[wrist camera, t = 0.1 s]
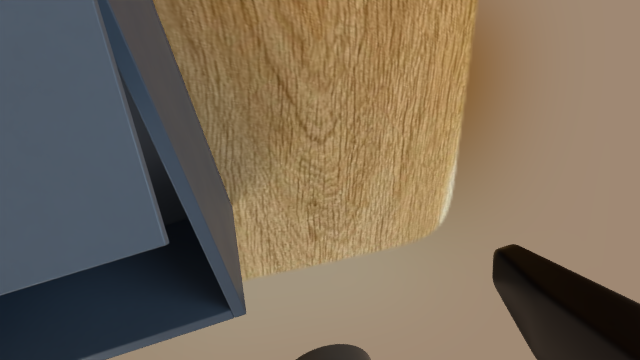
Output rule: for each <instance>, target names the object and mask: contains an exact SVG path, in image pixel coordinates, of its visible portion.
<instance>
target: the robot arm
mask: <svg viewBox="0 0 640 360" xmlns="http://www.w3.org/2000/svg"><path fill="white" fill-rule="evenodd" d="M493 257H494V258H493V282H494V285H495V287H496V289H497V291H498V293H499V294H500V296H501V298H502V300H503V302H504V304H505V305H506V307H507V309H508V311H509V312H510V314H511V316H512V317H513V319H514V321H515V323H516V325H517V327H518V328H519V330H520V332H521V334H522V335H523V337H524V339H525V341H526V342H527V344H528V346H529V347H530V349H531V351H532V352H533V354H534V356H535V357H536V359H537V360H640V304H639V303H637V302H635V301H633V300H631V299H629V298H627V297H625V296H623V295H621V294H618V293H616V292H614V291H612V290H610V289H608V288H606V287H604V286H602V285H600V284H598V283H595V282H593V281H591V280H589V279H587V278H585V277H583V276H581V275H579V274H577V273H574V272H572V271H571V270H568V269H566V268H564V267H562V266H560V265H558V264H556V263H554V262H552V261H550V260H548V259H546V258H543V257H541V256H539V255H537V254H535V253H533V252H531V251H529V250H527V249H525V248H522V247H520V246H518V245H514V244H512V245H508V246H505V247H502V248H499V249H497V250H495V252H494V256H493Z"/></svg>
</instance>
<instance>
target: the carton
mask: <svg viewBox="0 0 640 360" xmlns="http://www.w3.org/2000/svg"><path fill="white" fill-rule="evenodd" d="M97 2H98V5H99V8H100V12H101V15H102V18H103V22H104V25H105V28H106V32H107V35H108V38H109V42H110V45H111V49H112V52H113V55H114V59H115V62H116V65H117V69H118V72H119V75H120V79H121V82H122V85H123V89H124V92H125V95H126V99H127V102H128V106H129V109H130V112H131V116H132V119H133V122H134V126H135V129H136V132H137V136H138V139H139V142H140V146H141V149H142V152H143V156H144V159H145V163H146V166H147V169H148V173H149V176H150V179H151V183H152V186H153V189H154V193H155V196H156V199H157V203H158V206H159V209H160V213H161V216H162V220H163V223H164V226H165V230H166V233H167V236H168V240H169V244H167V245H165V246H162V247H159V248H155V249H152V250H149V251H145V252H142V253H139V254H135V255H132V256H129V257H126V258H122V259H119V260H116V261H112V262H109V263H106V264H103V265H99V266H96V267H93V268H89V269H86V270H83V271H79V272H76V273H73V274H70V275H66V276H63V277H60V278H56V279H53V280H50V281H47V282H43V283H40V284H37V285H33V286H30V287H27V288H23V289H20V290H17V291H14V292H10V293H7V294H4V295H0V360H106V359H109V358H112V357H115V356H118V355H121V354H124V353H127V352H130V351H134V350H137V349H139V348H143V347H146V346H149V345H152V344H155V343H158V342H161V341H165V340H168V339H171V338H174V337H177V336H180V335H183V334H186V333H189V332H192V331H196V330H198V329H202V328H205V327H208V326H211V325H214V324H217V323H220V322H223V321H226V320H229V319H233V318H234V317H239V316H242V315H244V314H246V308H245V300H244V293H243V285H242V277H241V270H240V262H239V255H238V247H237V240H236V232H235V225H234V217H233V209H232V205H231V203H230V200H229V198H228V195H227V192H226V190H225V187H224V185H223V182H222V179H221V177H220V174H219V172H218V169H217V166H216V164H215V161H214V159H213V156H212V154H211V151H210V148H209V146H208V143H207V141H206V138H205V135H204V133H203V130H202V128H201V125H200V122H199V120H198V117H197V115H196V112H195V109H194V107H193V104H192V102H191V99H190V97H189V94H188V91H187V89H186V86H185V84H184V81H183V78H182V76H181V73H180V71H179V68H178V65H177V63H176V60H175V58H174V55H173V52H172V50H171V47H170V45H169V42H168V40H167V37H166V34H165V32H164V29H163V27H162V24H161V21H160V19H159V16H158V14H157V11H156V8H155V6H154V3H153V1H152V0H97Z"/></svg>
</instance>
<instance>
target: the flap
mask: <svg viewBox="0 0 640 360" xmlns="http://www.w3.org/2000/svg"><path fill="white" fill-rule="evenodd" d="M167 244H169V240H168V236H167V233H166V230H165V226H164V223H163V220H162V216H161V213H160V209H159V206H158V203H157V199H156V196H155V193H154V189H153V186H152V183H151V179H150V176H149V173H148V169H147V166H146V163H145V159H144V156H143V152H142V149H141V146H140V142H139V139H138V136H137V132H136V129H135V126H134V122H133V119H132V116H131V112H130V109H129V106H128V102H127V99H126V95H125V92H124V89H123V85H122V82H121V79H120V75H119V72H118V69H117V65H116V62H115V59H114V55H113V52H112V49H111V45H110V42H109V38H108V35H107V32H106V28H105V25H104V22H103V18H102V15H101V12H100V8H99V5H98V2H97V0H0V295H4V294H7V293H10V292H14V291H17V290H20V289H23V288H27V287H30V286H33V285H37V284H40V283H43V282H47V281H50V280H53V279H56V278H60V277H63V276H66V275H70V274H73V273H76V272H79V271H83V270H86V269H89V268H93V267H96V266H99V265H103V264H106V263H109V262H112V261H116V260H119V259H122V258H126V257H129V256H132V255H135V254H139V253H142V252H145V251H149V250H152V249H155V248H159V247H162V246H165V245H167Z"/></svg>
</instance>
